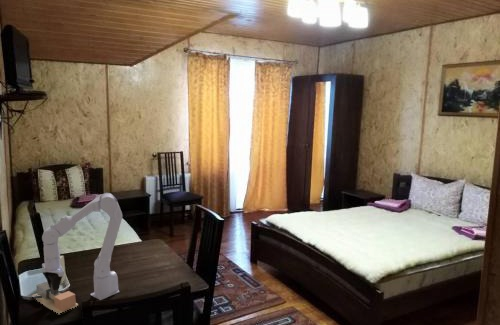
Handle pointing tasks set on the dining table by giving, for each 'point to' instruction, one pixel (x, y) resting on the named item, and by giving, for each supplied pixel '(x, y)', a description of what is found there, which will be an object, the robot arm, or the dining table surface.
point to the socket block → (64, 300)
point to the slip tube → (52, 292)
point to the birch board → (51, 304)
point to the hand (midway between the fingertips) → (54, 288)
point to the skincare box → (62, 268)
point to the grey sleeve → (43, 290)
